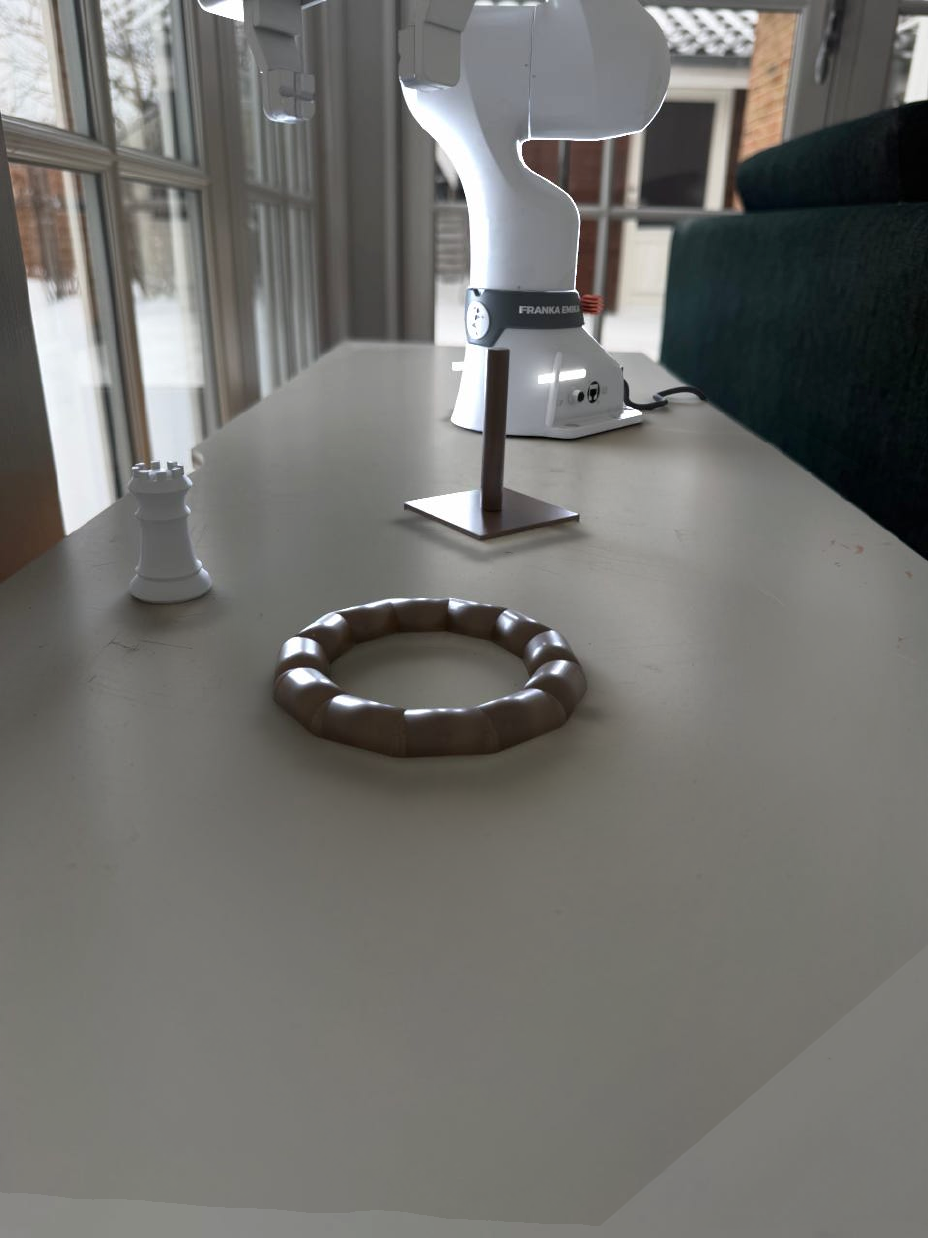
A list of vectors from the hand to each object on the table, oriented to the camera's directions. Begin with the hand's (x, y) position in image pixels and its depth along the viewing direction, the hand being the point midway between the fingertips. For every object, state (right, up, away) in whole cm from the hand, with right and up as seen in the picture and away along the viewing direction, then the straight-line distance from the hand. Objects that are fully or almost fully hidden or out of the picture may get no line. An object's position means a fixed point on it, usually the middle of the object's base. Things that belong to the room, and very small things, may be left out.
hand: (353, 105), depth 36 cm
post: (+6, -14, +28) cm, 32 cm away
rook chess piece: (-12, -20, +13) cm, 27 cm away
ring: (+3, -23, +4) cm, 24 cm away
